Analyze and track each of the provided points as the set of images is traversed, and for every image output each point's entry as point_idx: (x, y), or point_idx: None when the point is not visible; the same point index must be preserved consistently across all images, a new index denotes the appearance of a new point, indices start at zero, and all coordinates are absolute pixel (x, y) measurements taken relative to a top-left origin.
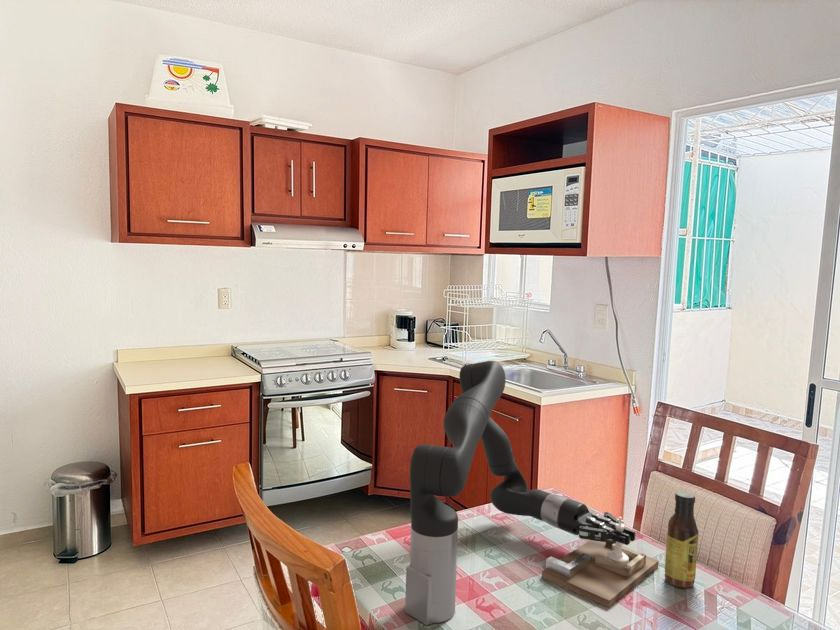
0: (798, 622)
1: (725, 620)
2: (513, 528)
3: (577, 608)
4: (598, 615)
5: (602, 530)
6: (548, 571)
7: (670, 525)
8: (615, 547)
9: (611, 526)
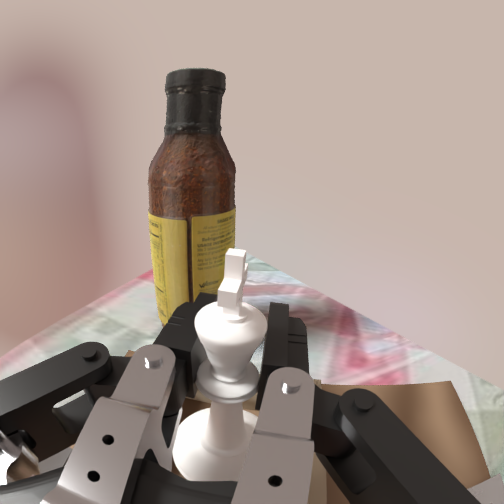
0: None
1: (287, 277)
2: None
3: (496, 421)
4: (473, 390)
5: (369, 413)
6: None
7: (218, 175)
8: (238, 432)
9: (72, 435)
